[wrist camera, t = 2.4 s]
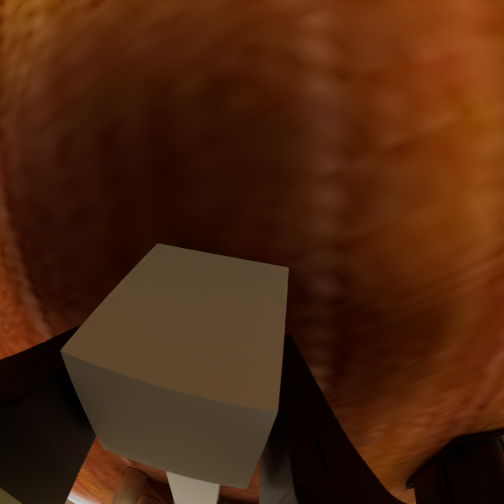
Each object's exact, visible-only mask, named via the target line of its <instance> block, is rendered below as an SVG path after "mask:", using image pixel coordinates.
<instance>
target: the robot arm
mask: <svg viewBox="0 0 504 504" xmlns="http://www.w3.org/2000/svg"><path fill="white" fill-rule="evenodd" d="M81 326H82V324H81V325H79V326H77V327H75V328H73V329H70V330H68V331H66V332H64V333H62V334H60V335H57V336H55V337H53V338H51V339H49V340H47V341H45V342H42V343H40V344H38V345H36V346H34V347H31V348H29V349H27V350H24V351H22V352H20V353H17V354H14V355H12V356H9V357H6V358H4V359H1V360H0V504H65V502H66V500H67V498H68V496H69V493H70V491H71V489H72V487H73V484H74V482H75V480H76V478H77V476H78V474H77V473H79V471H80V469H81V467H82V465H83V463H84V460H85V458H86V456H87V454H88V452H89V450H90V448H91V446H92V444H93V442H94V440H95V438H96V434H95V432H94V430H93V428H92V426H91V424H90V422H89V419H88V417H87V415H86V413H85V411H84V409H83V407H82V404H81V402H80V400H79V398H78V395H77V393H76V391H75V388H74V386H73V383H72V381H71V378H70V376H69V373H68V371H67V368H66V365H65V362H64V360H63V357H62V354H61V351H60V350H61V349H62V348H63V347H64V346H65V344H66V343H67V342H68V341H69V340H70V338H71V337H72V336H73V335H74V334H75V332H76V331H77V330H78V329H79V328H80V327H81ZM334 416H335V415H334V413H333V411H332V409H331V407H330V406H329V404H328V402H327V400H326V398H325V396H324V395H323V393H322V391H321V389H320V387H319V386H318V384H317V382H316V380H315V378H314V377H313V375H312V373H311V371H310V369H309V367H308V366H307V364H306V362H305V360H304V358H303V357H302V355H301V353H300V351H299V349H298V347H297V346H296V344H295V342H294V340H293V338H292V337H291V335H290V334H286V333H284V346H283V359H282V370H281V382H280V393H279V403H278V412H277V415H276V418H275V421H274V423H273V426H272V428H271V431H270V434H269V436H268V439H267V441H266V444H265V447H264V449H263V452H262V454H261V469H260V493H259V504H406V503H404V502H402V501H400V500H398V499H397V498H395V497H394V496H393V495H392V494H391V493H389V492H388V491H387V490H386V488H385V487H384V486H383V485H382V484H381V482H380V481H379V480H378V478H377V477H376V476H375V474H374V473H373V472H372V470H371V469H370V468H369V467H368V465H367V464H366V463H365V461H364V460H363V459H362V457H361V456H360V455H359V453H358V452H357V450H356V449H355V447H354V446H353V445H352V443H351V442H350V440H349V439H348V437H347V435H346V434H345V432H344V430H343V429H342V427H341V425H340V423H339V422H338V420H337V418H336V417H334ZM411 488H414V490H415V497H416V504H504V430H502V431H497V432H492V433H487V434H481V435H476V436H469V437H463V438H459V439H456V440H455V441H453V442H452V443H451V444H450V445H448V446H447V447H446V448H445V449H444V450H443V451H442V452H441V453H440V454H439V455H438V456H437V457H436V458H435V459H433V460H432V461H431V462H430V463H429V464H428V465H427V466H426V467H424V468H423V469H422V470H421V471H420V472H418V473H417V474H416V475H415V476H414V477H412V478H411V479H410V480H409V481H407V482H406V489H411Z"/></svg>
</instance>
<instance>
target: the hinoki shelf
mask: <svg viewBox="0 0 504 504" xmlns="http://www.w3.org/2000/svg"><path fill="white" fill-rule="evenodd" d="M146 480H147V475H146V474H144V473H143V472H141V471H139V470H136V469H134V468H129V467H128V468H126V471H125V473H124V475H123V478H122V480H121V482H120V485H119V487H118V489H117V492H116V494H115V497H114V499H113V501H112V504H138V501H139V498H140V496H141V493H142V490H143V488H144V485H145V482H146ZM139 504H158V501H157V500H156V499H154V498H152V497H149V496H145V495H142V496H141V498H140V501H139Z"/></svg>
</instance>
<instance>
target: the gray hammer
mask: <svg viewBox="0 0 504 504" xmlns="http://www.w3.org/2000/svg"><path fill="white" fill-rule="evenodd" d="M288 272H289V268H288V267H283V266H277V265H272V264H266V263H261V262H255V261H250V260H244V259H239V258H233V257H228V256H223V255H217V254H212V253H206V252H201V251H196V250H190V249H185V248H180V247H174V246H169V245H164V244H157V245H156V246H155V247H154V248H153V249H152V250H151V251H150V252H149V253H148V254H147V255H146V256H145V257H144V258H143V259H142V260H141V261H140V262H139V263H138V264H137V265H136V266H135V267H134V268H133V269H132V270H131V271H130V272H129V274H128V275H127V276H126V277H125V278H124V279H123V280H122V281H121V282H120V283H119V284H118V285H117V286H116V287H115V289H114V290H113V291H112V292H111V293H110V294H109V295H108V296H107V297H106V298H105V299H104V301H103V302H102V303H101V304H100V305H99V306H98V307H97V308H96V310H95V311H94V312H93V313H92V314H91V315H90V316H89V317H88V319H87V320H86V321H85V322H84V323H83V324H82V326H81V327H80V328H79V329H78V330H77V331H76V332H75V334H74V335H73V336H72V337H71V338H70V340H69V341H68V342H67V343H66V344H65V346H64V347H63V348H62V349H61V350H60V351H61V354H62V357H63V360H64V362H65V365H66V368H67V371H68V373H69V376H70V378H71V381H72V383H73V386H74V388H75V391H76V393H77V395H78V398H79V400H80V402H81V404H82V407H83V409H84V411H85V413H86V415H87V417H88V419H89V422H90V424H91V426H92V428H93V430H94V432H95V434H96V436H97V437H98V439H99V441H100V443H101V445H102V447H103V449H105V450H108V451H110V452H113V453H115V454H118V455H120V456H123V457H125V458H128V459H131V460H134V461H136V462H139V463H142V464H145V465H148V466H151V467H154V468H157V469H160V470H164V471H166V473H167V477H168V480H169V484H170V488H171V491H172V495H173V498H174V502H175V504H218V499H219V495H220V490H221V485H224V486H229V487H235V488H241V489H247V488H248V485H249V483H250V481H251V478H252V476H253V474H254V471H255V469H256V466H257V464H258V462H259V459H260V457H261V454H262V452H263V449H264V447H265V444H266V441H267V439H268V436H269V434H270V431H271V428H272V426H273V423H274V421H275V418H276V415H277V412H278V403H279V393H280V382H281V370H282V359H283V346H284V333H285V319H286V305H287V289H288Z"/></svg>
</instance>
